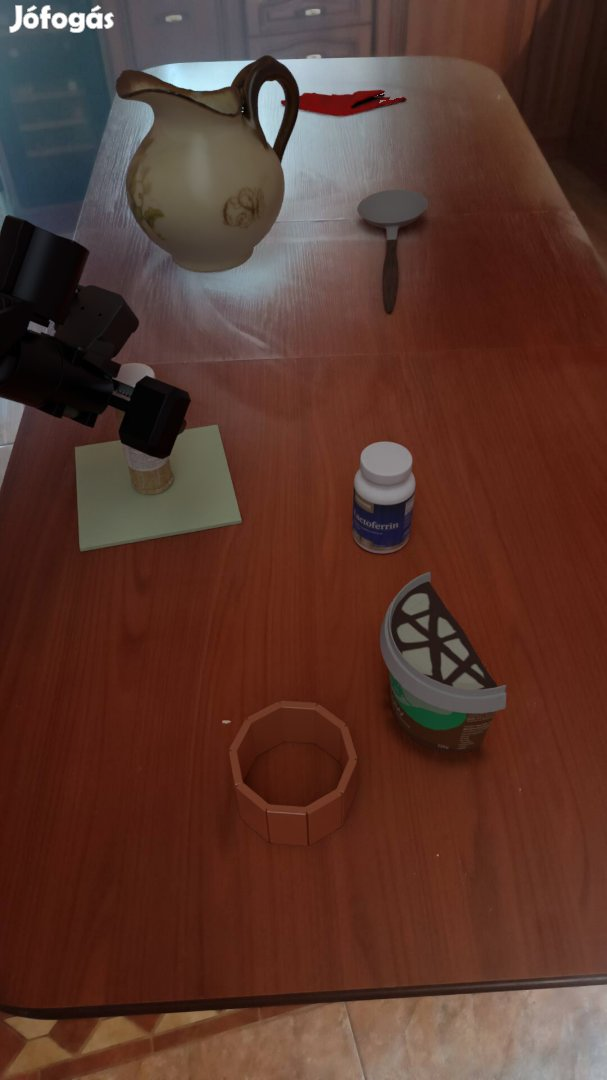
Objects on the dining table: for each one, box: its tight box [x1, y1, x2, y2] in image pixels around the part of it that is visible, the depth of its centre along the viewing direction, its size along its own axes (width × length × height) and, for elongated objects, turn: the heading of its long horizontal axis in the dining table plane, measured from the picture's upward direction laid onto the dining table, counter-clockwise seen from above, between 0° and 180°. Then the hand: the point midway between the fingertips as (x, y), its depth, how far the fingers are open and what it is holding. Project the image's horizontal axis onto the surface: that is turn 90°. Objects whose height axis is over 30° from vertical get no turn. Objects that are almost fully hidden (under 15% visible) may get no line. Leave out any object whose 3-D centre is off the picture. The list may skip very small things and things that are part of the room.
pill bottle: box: [351, 441, 417, 555], centre depth 75 cm, size 6×6×10 cm
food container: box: [379, 571, 507, 754], centre depth 61 cm, size 12×6×10 cm, turn 21°
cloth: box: [280, 89, 408, 117], centre depth 164 cm, size 26×14×2 cm, turn 79°
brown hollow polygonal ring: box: [228, 700, 358, 847], centre depth 59 cm, size 9×9×5 cm
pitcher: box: [115, 54, 301, 273], centre depth 112 cm, size 22×24×25 cm
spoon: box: [356, 189, 429, 313], centre depth 118 cm, size 11×33×3 cm, turn 175°
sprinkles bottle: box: [112, 362, 174, 494], centre depth 79 cm, size 5×5×13 cm
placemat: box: [74, 424, 243, 553], centre depth 84 cm, size 16×16×1 cm
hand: (147, 411), depth 79 cm, fingers open, 9 cm apart
